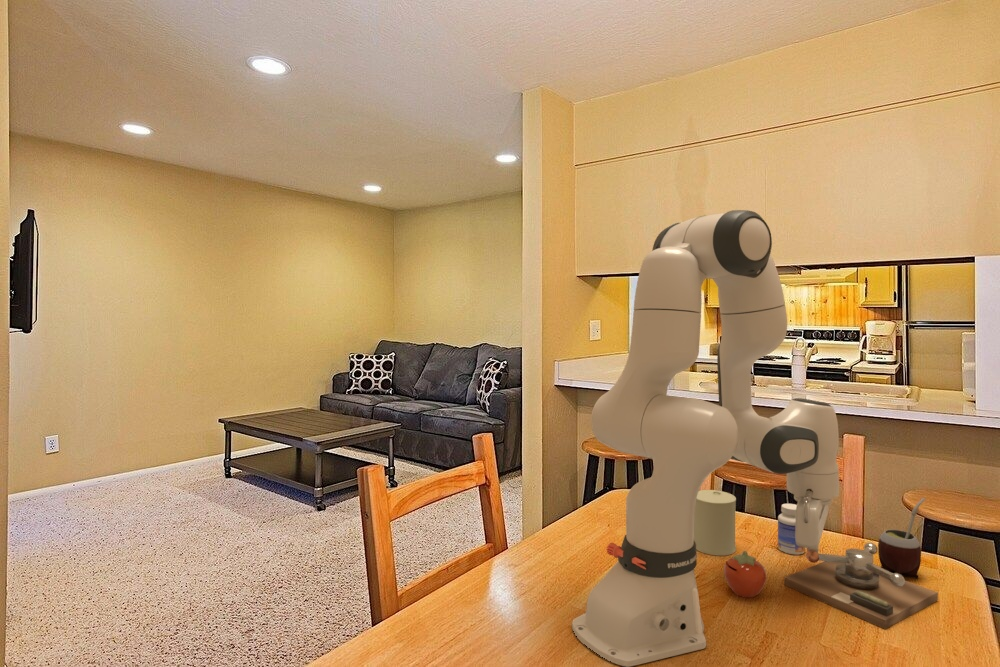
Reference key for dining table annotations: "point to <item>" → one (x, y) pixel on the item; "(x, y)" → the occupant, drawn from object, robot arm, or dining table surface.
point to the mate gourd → (901, 550)
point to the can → (715, 522)
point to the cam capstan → (858, 567)
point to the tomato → (745, 575)
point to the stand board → (862, 595)
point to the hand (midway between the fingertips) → (812, 553)
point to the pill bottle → (788, 530)
